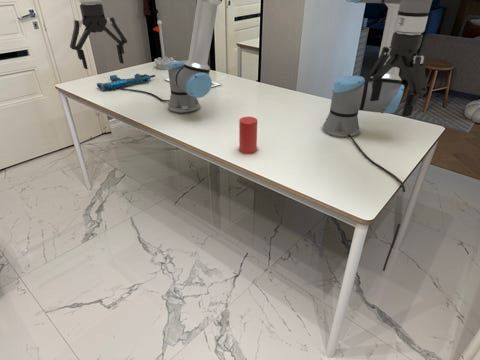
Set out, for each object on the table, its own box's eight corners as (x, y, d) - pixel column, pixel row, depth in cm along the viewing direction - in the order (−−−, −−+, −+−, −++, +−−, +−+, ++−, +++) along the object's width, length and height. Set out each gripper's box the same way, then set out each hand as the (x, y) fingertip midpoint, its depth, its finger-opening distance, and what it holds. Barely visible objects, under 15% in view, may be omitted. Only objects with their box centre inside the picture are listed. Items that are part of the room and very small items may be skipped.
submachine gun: (141, 68, 225) (159, 74, 208) (142, 74, 227) (160, 80, 210) (89, 78, 206) (104, 86, 190) (91, 84, 208) (106, 92, 192)
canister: (258, 147, 137) (259, 117, 130) (253, 154, 132) (254, 124, 125) (242, 144, 139) (242, 115, 132) (236, 152, 134) (236, 122, 127)
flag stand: (172, 63, 245) (167, 18, 229) (176, 68, 235) (171, 21, 219) (154, 65, 241) (147, 19, 225) (157, 70, 231) (150, 22, 215)
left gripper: (54, 6, 110) (72, 73, 121) (129, 2, 122) (139, 62, 133) (49, 4, 115) (67, 68, 127) (122, 0, 127) (132, 58, 138)
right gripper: (366, 26, 100) (353, 96, 112) (435, 42, 81) (411, 124, 92) (386, 24, 102) (371, 93, 114) (458, 39, 83) (432, 120, 94)
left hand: (104, 65), depth 130 cm, fingers open, 13 cm apart
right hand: (389, 107), depth 103 cm, fingers open, 13 cm apart
